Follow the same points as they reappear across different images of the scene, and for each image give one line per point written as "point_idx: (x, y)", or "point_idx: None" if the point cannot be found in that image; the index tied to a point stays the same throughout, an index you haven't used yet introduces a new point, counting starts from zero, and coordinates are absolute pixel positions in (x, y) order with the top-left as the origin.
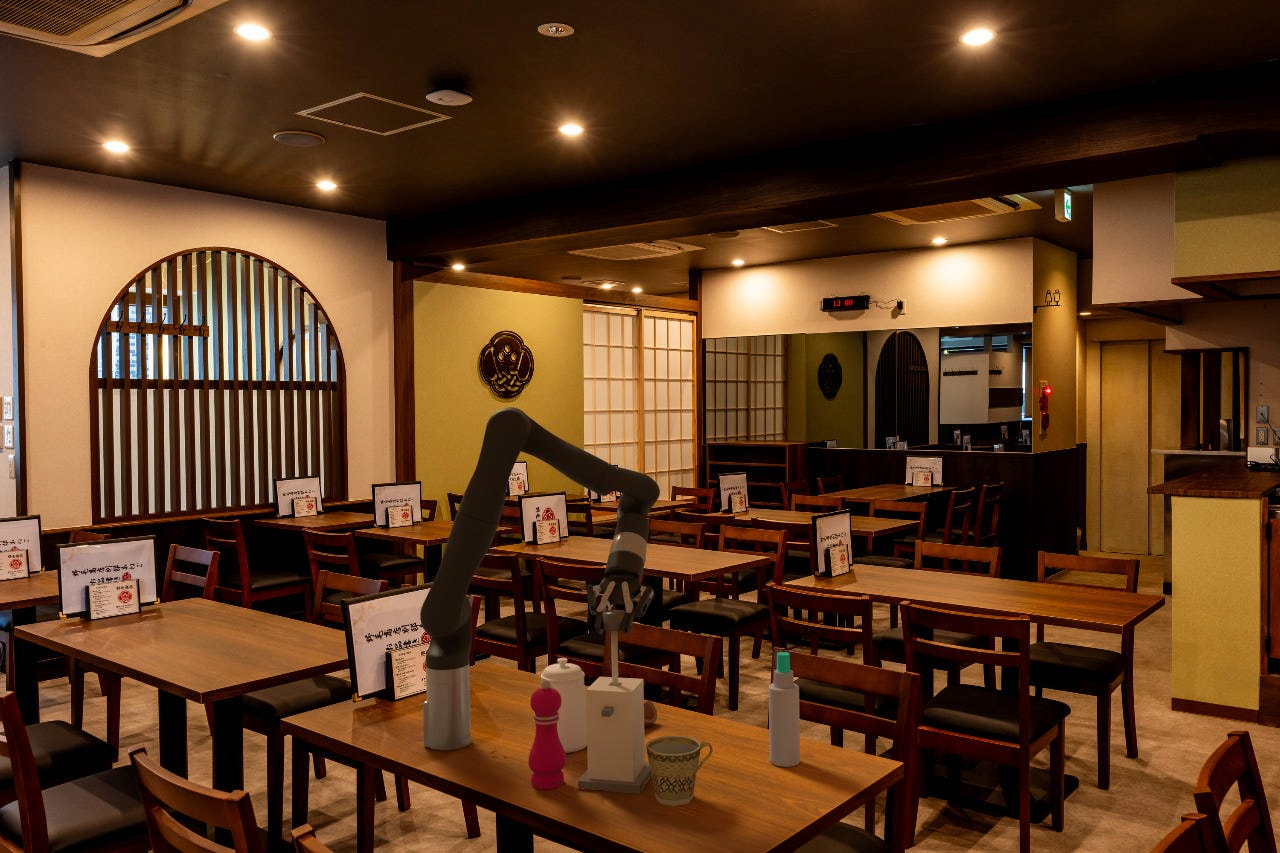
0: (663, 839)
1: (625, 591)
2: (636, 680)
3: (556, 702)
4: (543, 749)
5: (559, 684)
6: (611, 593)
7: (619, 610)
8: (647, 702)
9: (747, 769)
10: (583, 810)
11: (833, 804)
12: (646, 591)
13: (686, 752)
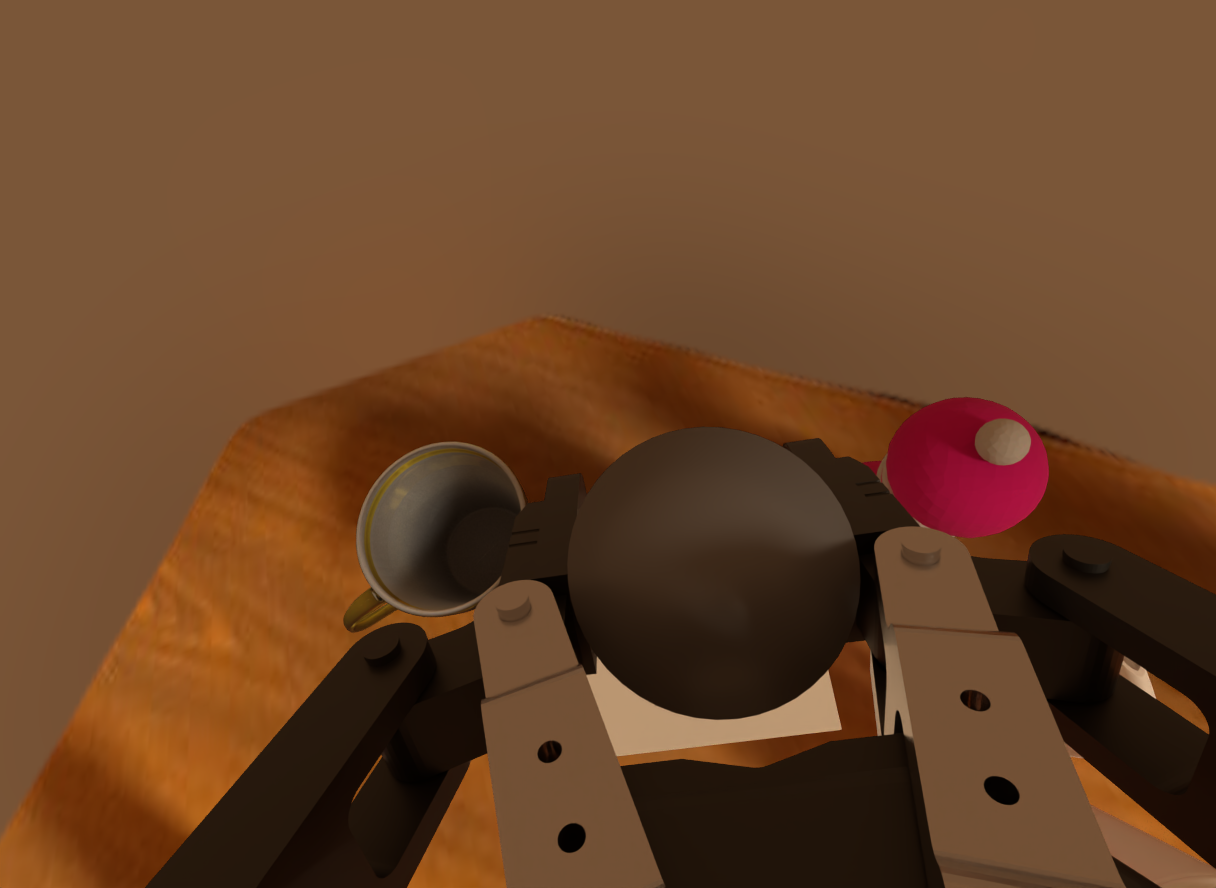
0: (462, 353)
1: (591, 865)
2: (610, 716)
3: (895, 442)
4: (878, 465)
5: (1161, 880)
6: (921, 813)
7: (682, 681)
8: None
9: None
10: (680, 416)
11: (116, 649)
12: None
13: (433, 605)
